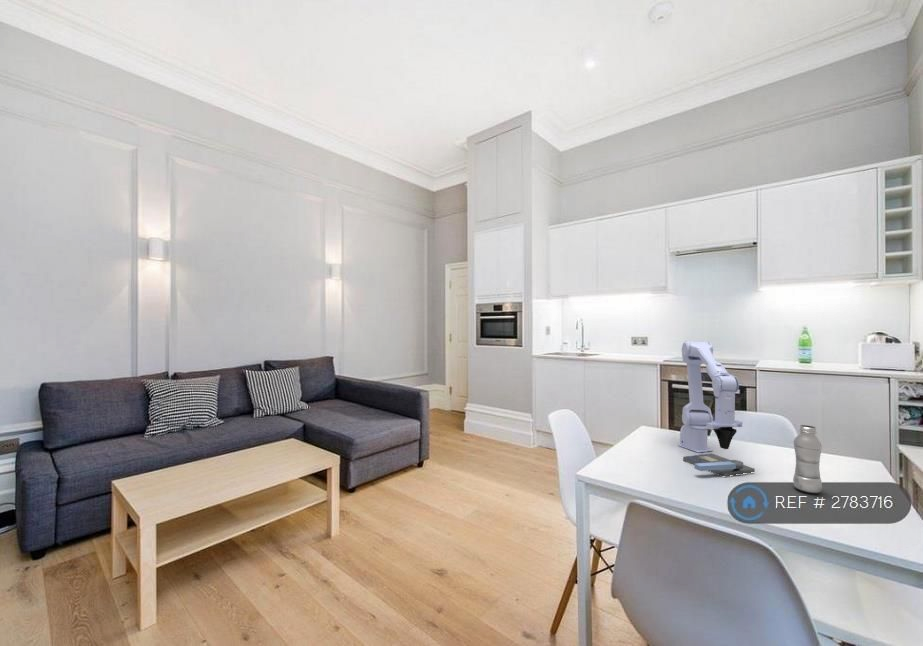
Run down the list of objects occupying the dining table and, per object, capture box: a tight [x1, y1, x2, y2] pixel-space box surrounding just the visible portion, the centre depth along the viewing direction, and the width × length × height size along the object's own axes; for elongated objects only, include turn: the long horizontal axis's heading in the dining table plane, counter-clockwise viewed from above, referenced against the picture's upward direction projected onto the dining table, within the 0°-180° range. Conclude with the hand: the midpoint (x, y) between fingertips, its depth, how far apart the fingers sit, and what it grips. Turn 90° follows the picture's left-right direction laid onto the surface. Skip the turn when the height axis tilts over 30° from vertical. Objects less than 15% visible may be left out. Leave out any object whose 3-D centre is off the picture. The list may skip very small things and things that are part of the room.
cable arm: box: [694, 459, 744, 472], centre depth 129 cm, size 17×4×2 cm, turn 100°
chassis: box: [682, 453, 755, 477], centre depth 137 cm, size 16×14×2 cm
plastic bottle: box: [792, 424, 823, 494], centre depth 117 cm, size 6×7×20 cm
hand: (724, 448), depth 134 cm, fingers closed
